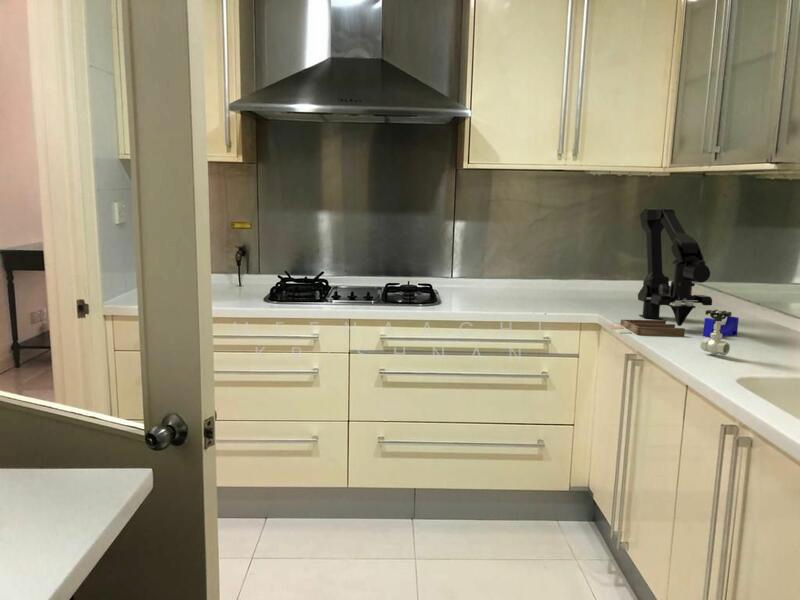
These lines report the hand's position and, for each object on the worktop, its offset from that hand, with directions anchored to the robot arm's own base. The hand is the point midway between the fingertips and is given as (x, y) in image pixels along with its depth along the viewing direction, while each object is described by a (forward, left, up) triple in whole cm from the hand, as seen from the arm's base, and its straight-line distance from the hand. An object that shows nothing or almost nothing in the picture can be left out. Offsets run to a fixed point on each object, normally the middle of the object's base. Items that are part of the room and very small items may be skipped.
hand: (679, 325), depth 217 cm
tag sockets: (+3, -11, -2) cm, 11 cm away
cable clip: (+8, +9, -2) cm, 12 cm away
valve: (+35, -6, -2) cm, 36 cm away
